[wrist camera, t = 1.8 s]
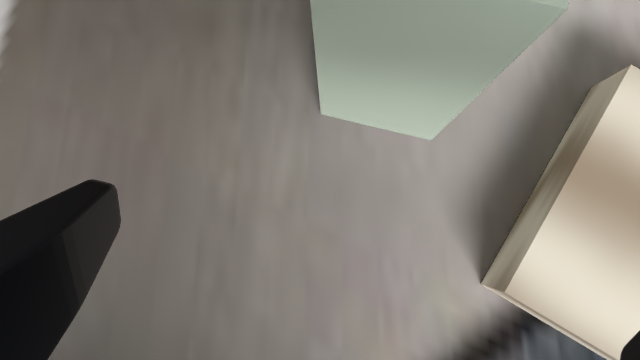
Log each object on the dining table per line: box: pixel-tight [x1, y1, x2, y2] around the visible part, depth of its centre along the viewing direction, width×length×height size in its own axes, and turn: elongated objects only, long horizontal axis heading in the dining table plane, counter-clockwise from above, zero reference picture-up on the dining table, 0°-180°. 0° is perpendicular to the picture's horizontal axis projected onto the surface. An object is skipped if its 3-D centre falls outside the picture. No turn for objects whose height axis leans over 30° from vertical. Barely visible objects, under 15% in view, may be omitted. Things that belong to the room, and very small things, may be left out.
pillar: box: [310, 0, 569, 140], centre depth 16 cm, size 5×5×13 cm
